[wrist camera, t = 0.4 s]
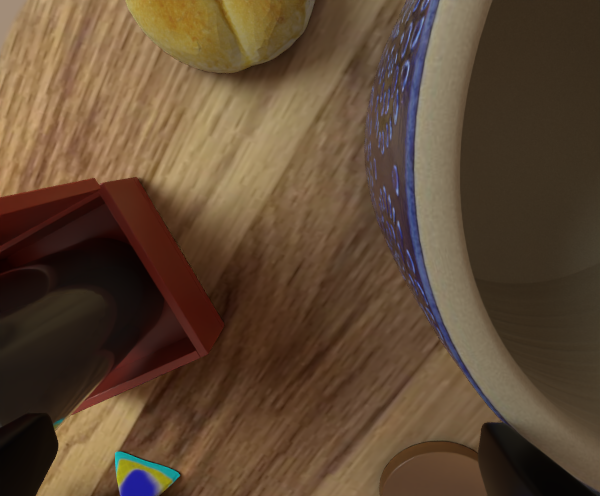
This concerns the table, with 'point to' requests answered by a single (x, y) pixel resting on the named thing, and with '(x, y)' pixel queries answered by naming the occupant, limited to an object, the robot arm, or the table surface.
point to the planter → (500, 202)
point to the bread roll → (222, 29)
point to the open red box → (158, 262)
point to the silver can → (70, 325)
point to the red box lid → (39, 206)
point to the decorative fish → (142, 476)
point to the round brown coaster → (433, 472)
